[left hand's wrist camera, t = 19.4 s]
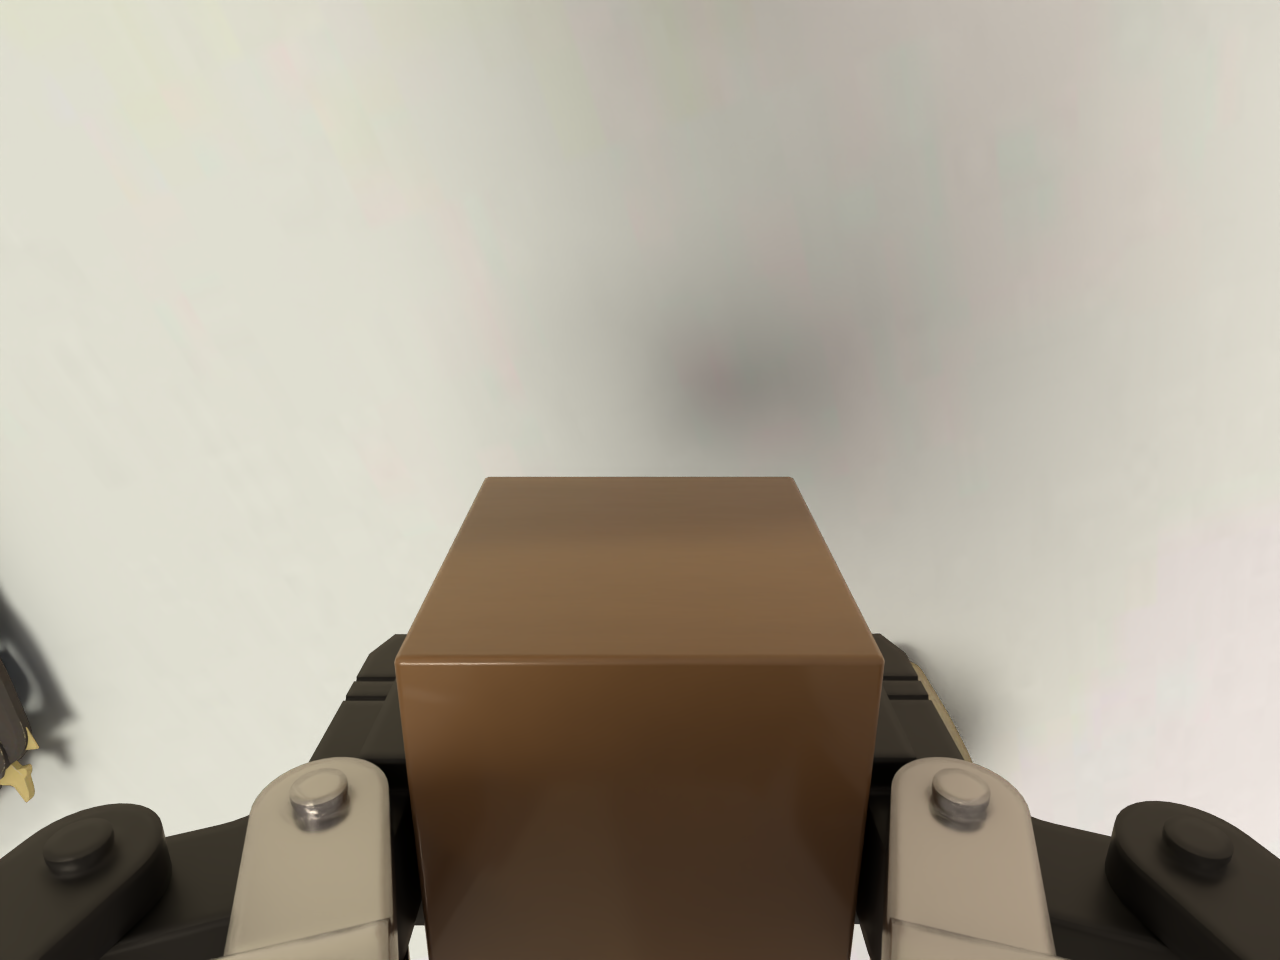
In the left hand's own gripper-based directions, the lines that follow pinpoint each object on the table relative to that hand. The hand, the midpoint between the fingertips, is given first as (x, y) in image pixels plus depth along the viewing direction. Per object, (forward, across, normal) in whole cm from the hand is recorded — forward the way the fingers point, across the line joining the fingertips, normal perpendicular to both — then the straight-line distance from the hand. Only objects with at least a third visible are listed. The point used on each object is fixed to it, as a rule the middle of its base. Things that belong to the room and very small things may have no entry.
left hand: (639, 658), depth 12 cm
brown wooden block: (+1, 0, 0) cm, 1 cm away
